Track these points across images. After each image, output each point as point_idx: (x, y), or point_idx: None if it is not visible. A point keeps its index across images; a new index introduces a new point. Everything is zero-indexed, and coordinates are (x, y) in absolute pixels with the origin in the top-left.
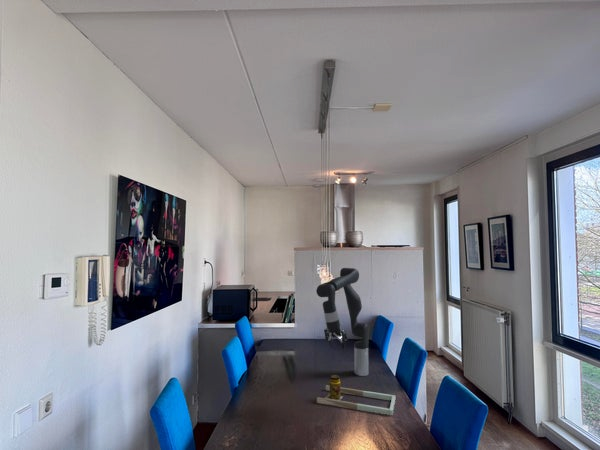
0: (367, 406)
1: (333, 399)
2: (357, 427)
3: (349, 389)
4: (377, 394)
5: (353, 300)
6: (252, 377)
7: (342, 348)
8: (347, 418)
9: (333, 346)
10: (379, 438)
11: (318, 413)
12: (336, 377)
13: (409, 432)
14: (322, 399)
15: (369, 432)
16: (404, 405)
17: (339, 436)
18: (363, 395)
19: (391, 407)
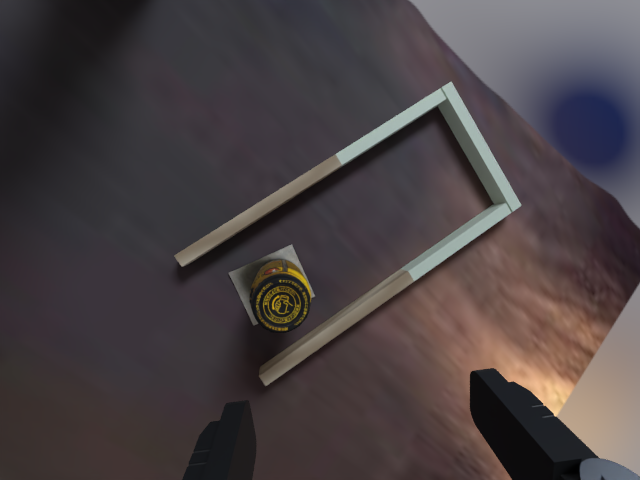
0: (447, 257)
1: (321, 332)
2: (488, 365)
3: (286, 197)
4: (395, 131)
5: None
6: None
7: (483, 427)
8: (429, 354)
9: (250, 410)
10: (564, 352)
11: (340, 423)
12: (297, 306)
13: (595, 249)
14: (288, 369)
15: (528, 353)
16: (486, 102)
17: (491, 449)
18: (340, 167)
19: (504, 186)
